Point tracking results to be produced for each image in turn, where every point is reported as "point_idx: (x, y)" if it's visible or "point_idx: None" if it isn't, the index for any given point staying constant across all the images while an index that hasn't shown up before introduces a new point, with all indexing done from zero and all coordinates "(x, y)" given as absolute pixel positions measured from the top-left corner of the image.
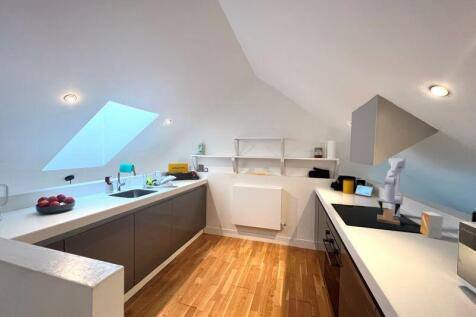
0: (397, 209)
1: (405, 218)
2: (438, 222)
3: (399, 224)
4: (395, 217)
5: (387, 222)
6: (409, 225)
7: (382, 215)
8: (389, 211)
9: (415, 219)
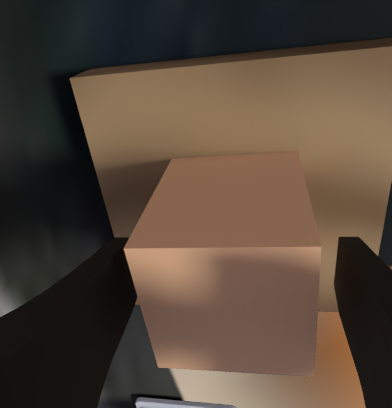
0: (30, 305)
1: None
2: None
3: (90, 70)
4: None
5: (246, 53)
6: (16, 166)
7: None
8: (206, 235)
9: None
